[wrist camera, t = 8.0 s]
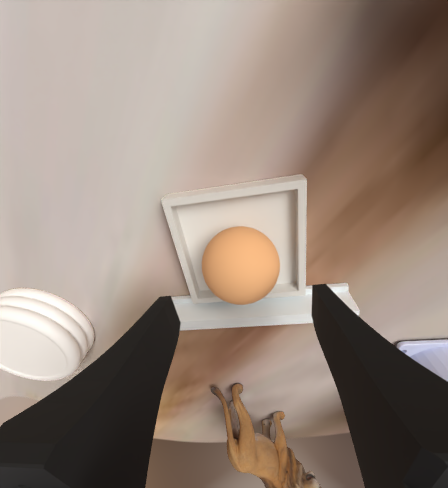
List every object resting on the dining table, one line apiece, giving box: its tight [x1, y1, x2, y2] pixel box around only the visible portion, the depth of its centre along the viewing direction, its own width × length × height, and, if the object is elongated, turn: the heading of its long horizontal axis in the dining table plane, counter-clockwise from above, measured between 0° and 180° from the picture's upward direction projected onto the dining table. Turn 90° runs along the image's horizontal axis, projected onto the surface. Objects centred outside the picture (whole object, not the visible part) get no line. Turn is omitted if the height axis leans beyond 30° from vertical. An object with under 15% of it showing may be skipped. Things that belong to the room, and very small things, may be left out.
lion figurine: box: [211, 384, 321, 488], centre depth 25 cm, size 15×5×9 cm, turn 52°
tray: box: [161, 174, 307, 304], centre depth 17 cm, size 9×9×1 cm
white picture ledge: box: [171, 283, 360, 331], centre depth 19 cm, size 2×15×2 cm, turn 100°
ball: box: [202, 226, 280, 305], centre depth 15 cm, size 5×5×5 cm
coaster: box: [0, 288, 94, 381], centre depth 22 cm, size 10×10×4 cm
